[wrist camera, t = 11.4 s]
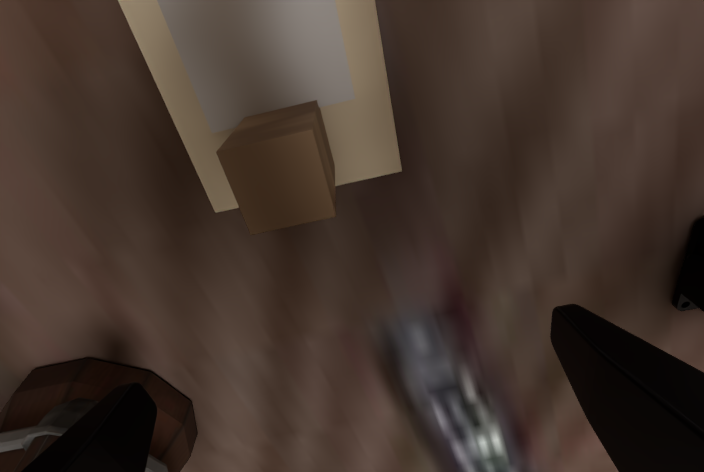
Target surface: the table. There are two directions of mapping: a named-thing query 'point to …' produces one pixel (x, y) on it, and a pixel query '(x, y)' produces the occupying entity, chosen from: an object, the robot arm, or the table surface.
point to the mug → (76, 400)
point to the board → (339, 119)
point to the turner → (267, 98)
